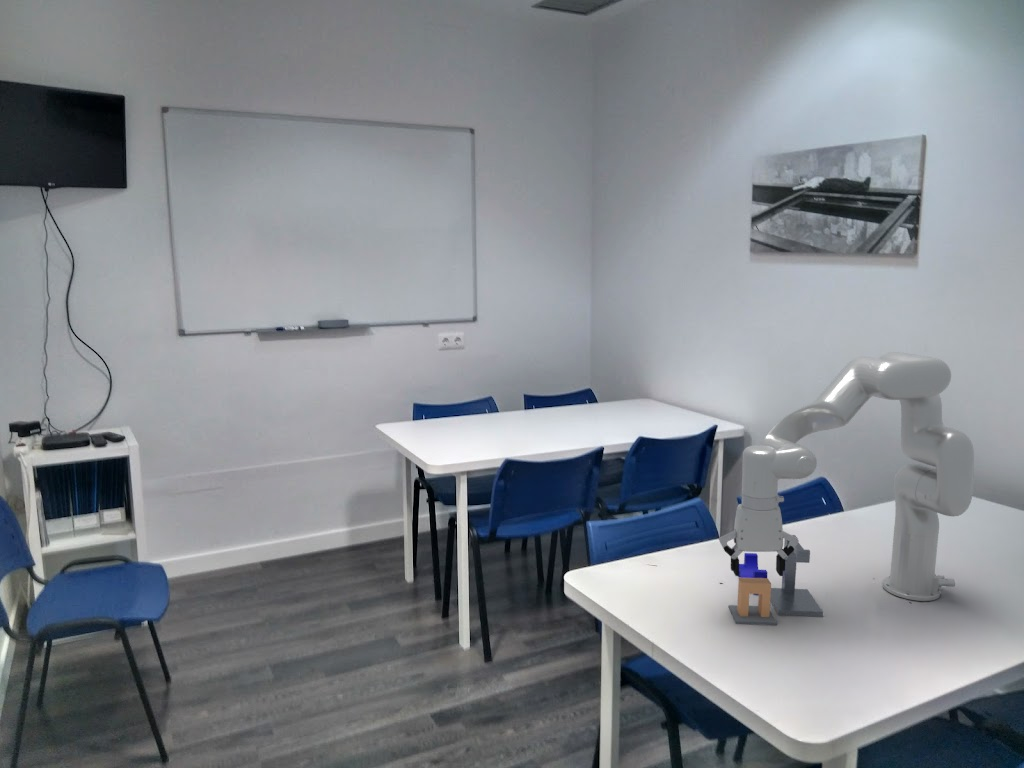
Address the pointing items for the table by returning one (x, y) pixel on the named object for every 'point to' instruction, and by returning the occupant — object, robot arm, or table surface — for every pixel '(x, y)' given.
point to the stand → (789, 597)
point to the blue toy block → (751, 567)
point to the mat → (751, 616)
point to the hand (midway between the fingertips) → (757, 573)
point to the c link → (754, 587)
